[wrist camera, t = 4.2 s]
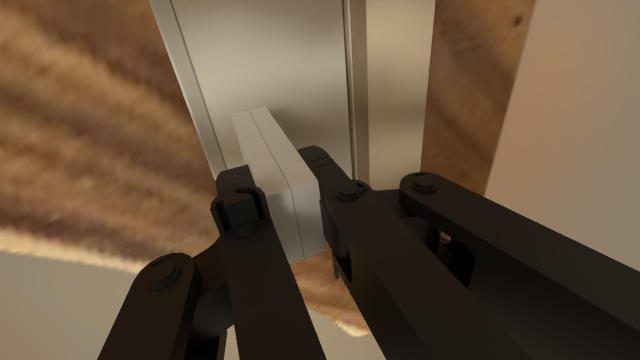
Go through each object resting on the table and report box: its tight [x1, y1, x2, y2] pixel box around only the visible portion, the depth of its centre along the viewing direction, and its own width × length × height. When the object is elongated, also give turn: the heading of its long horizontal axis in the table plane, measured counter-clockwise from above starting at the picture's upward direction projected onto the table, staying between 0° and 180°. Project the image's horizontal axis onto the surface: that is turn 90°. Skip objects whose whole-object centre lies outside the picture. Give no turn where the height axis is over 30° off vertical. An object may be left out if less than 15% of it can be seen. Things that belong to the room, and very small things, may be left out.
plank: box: [149, 0, 352, 180], centre depth 16 cm, size 13×8×2 cm, turn 7°
